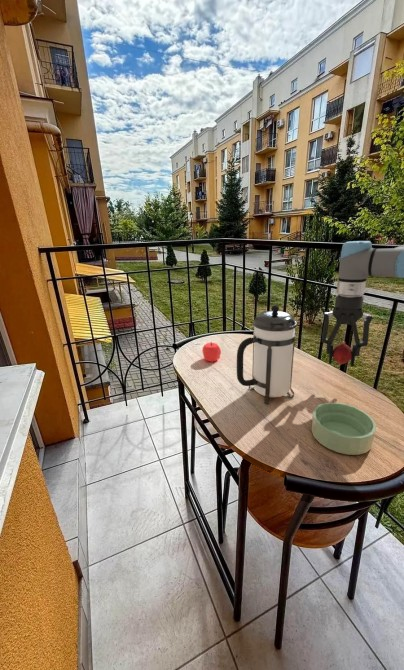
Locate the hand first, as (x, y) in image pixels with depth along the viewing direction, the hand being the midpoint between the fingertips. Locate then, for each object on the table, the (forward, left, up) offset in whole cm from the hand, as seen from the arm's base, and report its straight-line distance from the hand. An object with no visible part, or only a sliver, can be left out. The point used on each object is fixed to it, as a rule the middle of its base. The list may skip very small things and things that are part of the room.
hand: (340, 363), depth 93 cm
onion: (0, 0, -1) cm, 1 cm away
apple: (+48, -6, -9) cm, 49 cm away
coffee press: (+21, +13, -9) cm, 26 cm away
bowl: (0, +27, -8) cm, 28 cm away
